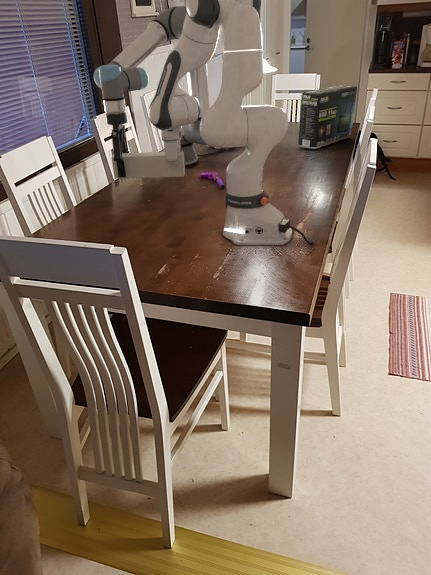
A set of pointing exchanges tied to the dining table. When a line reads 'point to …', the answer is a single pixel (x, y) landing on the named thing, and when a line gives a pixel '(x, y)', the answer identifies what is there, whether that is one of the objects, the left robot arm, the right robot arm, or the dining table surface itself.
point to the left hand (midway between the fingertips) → (124, 173)
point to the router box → (326, 115)
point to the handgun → (213, 176)
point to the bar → (150, 165)
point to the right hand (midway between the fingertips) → (175, 167)
